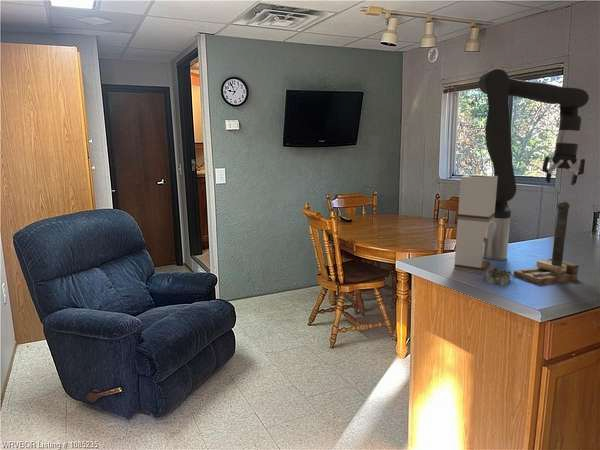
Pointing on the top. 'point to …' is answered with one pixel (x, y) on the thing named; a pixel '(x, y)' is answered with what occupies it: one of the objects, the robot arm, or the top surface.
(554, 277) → the press base
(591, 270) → the top surface
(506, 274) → the egg carton
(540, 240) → the top surface
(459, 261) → the display case
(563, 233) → the knob-topped lever
